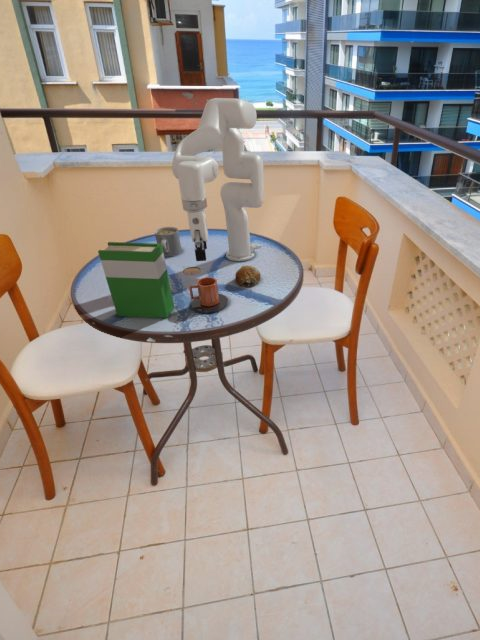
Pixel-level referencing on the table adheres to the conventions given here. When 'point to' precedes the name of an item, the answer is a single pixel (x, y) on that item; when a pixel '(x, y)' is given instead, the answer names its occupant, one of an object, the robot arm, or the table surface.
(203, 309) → the saucer
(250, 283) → the bread roll
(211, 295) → the wooden mug
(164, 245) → the coffee mug
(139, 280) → the hardback book
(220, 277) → the table surface
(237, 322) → the table surface
